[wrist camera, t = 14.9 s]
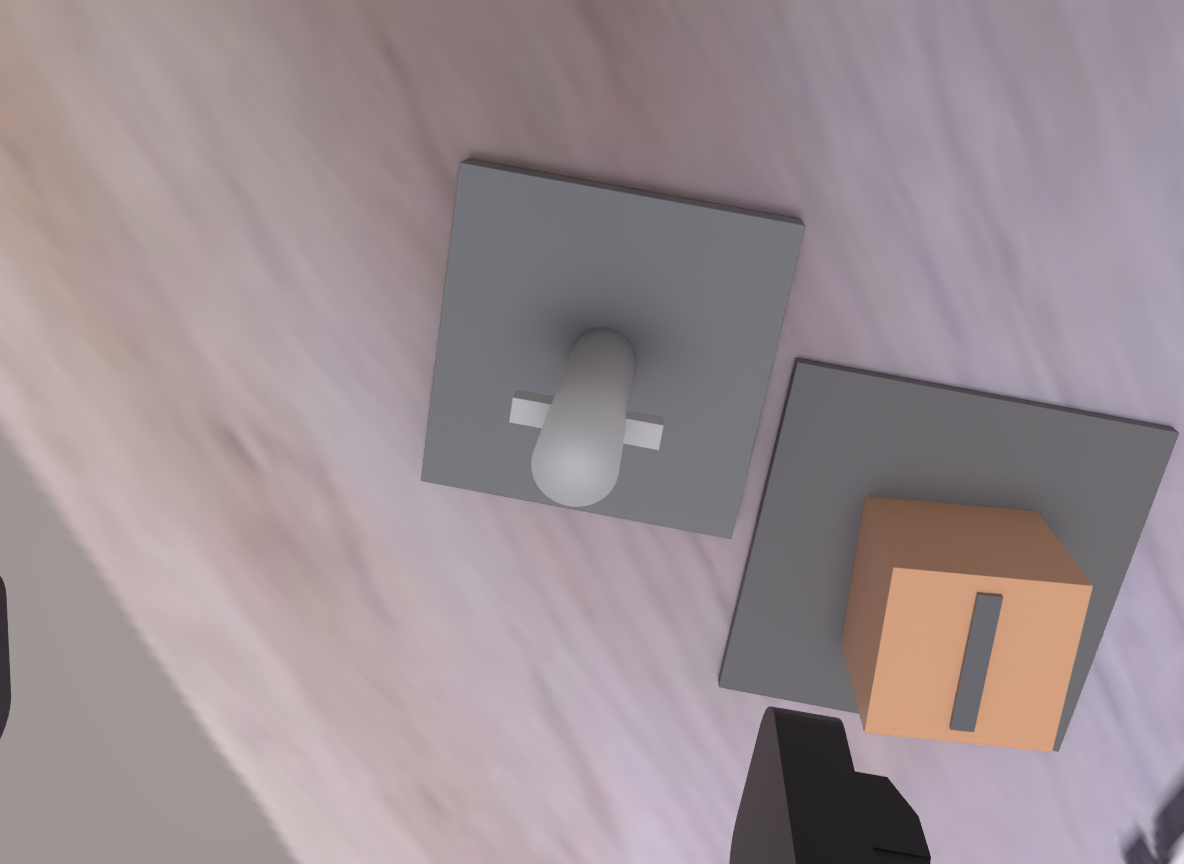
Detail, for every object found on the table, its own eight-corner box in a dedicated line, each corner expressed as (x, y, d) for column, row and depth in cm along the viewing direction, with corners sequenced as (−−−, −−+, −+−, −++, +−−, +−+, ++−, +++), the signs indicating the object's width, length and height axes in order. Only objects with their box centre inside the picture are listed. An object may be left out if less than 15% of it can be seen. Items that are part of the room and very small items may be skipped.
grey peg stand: (468, 158, 39) (380, 206, 28) (800, 218, 39) (848, 292, 28) (429, 466, 43) (339, 616, 32) (729, 522, 43) (745, 693, 32)
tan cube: (1037, 511, 41) (1095, 589, 35) (1004, 659, 43) (1054, 755, 38) (865, 495, 42) (894, 570, 36) (841, 643, 44) (865, 736, 38)
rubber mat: (796, 358, 41) (797, 362, 40) (1172, 427, 40) (1178, 432, 40) (718, 679, 45) (718, 687, 45) (1053, 742, 45) (1058, 751, 45)
